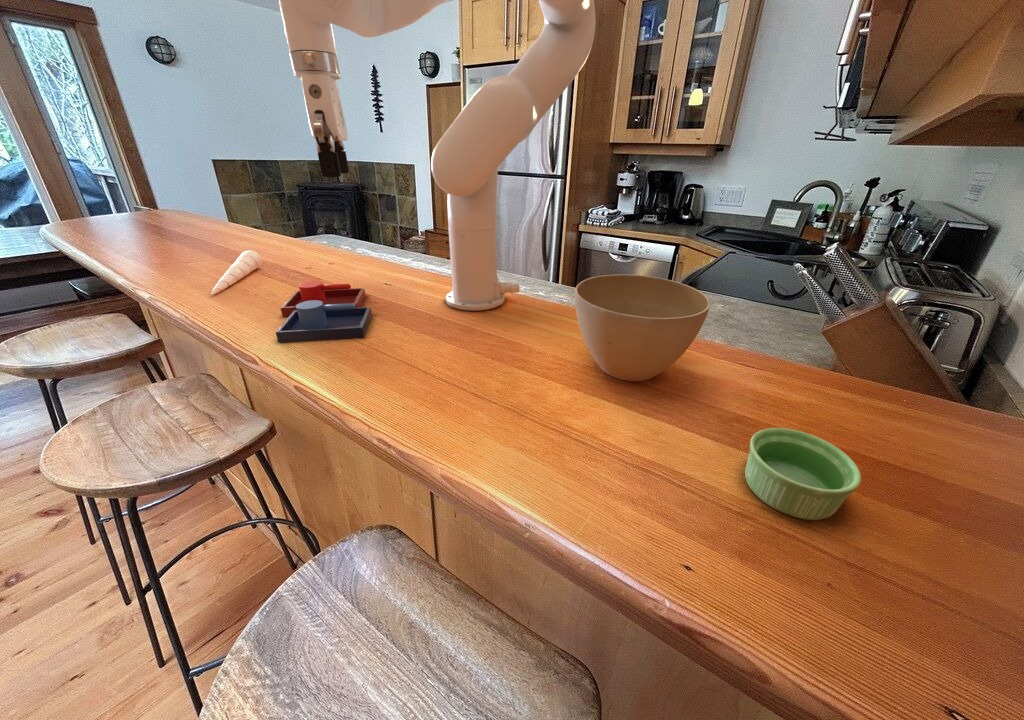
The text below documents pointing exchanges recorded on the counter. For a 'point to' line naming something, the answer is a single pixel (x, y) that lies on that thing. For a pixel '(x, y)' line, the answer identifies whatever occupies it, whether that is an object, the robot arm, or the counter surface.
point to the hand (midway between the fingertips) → (336, 174)
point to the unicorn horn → (239, 270)
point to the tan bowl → (638, 322)
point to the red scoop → (318, 290)
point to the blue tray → (338, 326)
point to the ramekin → (799, 473)
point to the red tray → (327, 299)
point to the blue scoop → (317, 313)
